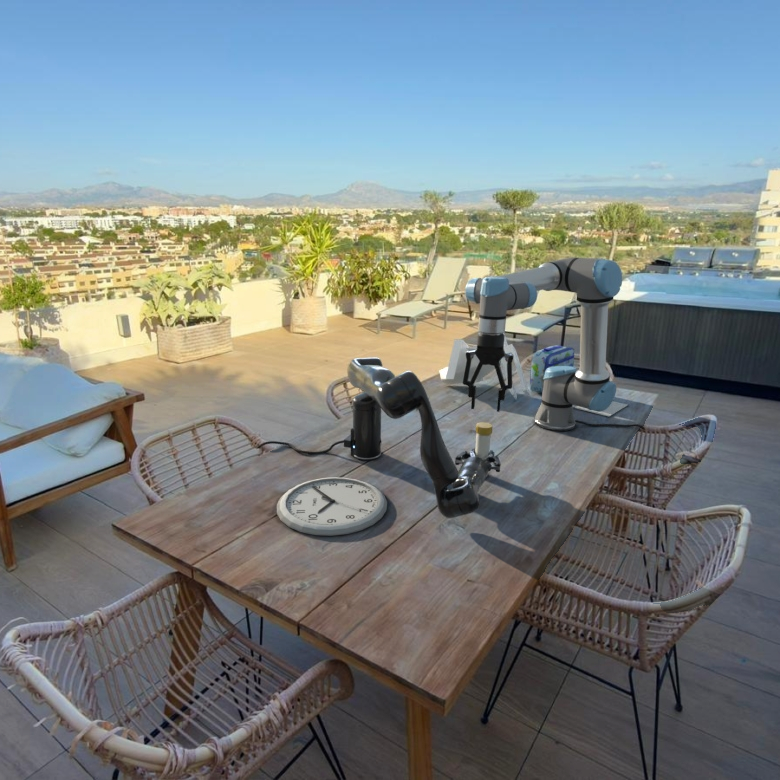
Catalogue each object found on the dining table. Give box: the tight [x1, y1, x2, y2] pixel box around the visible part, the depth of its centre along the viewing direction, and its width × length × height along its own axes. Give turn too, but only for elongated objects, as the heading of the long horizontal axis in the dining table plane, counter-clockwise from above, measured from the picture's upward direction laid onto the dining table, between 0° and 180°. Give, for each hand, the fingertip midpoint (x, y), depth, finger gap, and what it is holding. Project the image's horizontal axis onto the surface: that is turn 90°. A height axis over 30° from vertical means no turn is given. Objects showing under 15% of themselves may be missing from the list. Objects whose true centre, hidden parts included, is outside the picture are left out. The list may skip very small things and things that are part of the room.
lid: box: [475, 421, 493, 435], centre depth 157 cm, size 5×5×2 cm
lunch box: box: [529, 345, 575, 394], centre depth 245 cm, size 26×11×21 cm, turn 134°
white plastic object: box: [438, 332, 531, 400], centre depth 245 cm, size 37×45×31 cm
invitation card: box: [573, 400, 629, 418], centre depth 226 cm, size 21×1×15 cm
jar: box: [475, 433, 492, 478], centre depth 160 cm, size 4×4×16 cm
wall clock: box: [276, 476, 388, 537], centre depth 142 cm, size 30×2×30 cm
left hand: (483, 451), depth 162 cm, fingers closed on jar, 4 cm apart
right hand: (485, 408), depth 155 cm, fingers open, 7 cm apart
